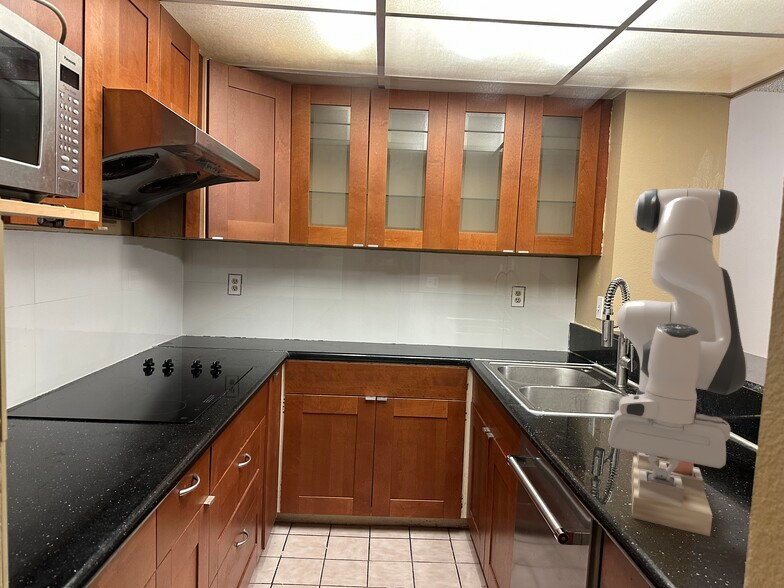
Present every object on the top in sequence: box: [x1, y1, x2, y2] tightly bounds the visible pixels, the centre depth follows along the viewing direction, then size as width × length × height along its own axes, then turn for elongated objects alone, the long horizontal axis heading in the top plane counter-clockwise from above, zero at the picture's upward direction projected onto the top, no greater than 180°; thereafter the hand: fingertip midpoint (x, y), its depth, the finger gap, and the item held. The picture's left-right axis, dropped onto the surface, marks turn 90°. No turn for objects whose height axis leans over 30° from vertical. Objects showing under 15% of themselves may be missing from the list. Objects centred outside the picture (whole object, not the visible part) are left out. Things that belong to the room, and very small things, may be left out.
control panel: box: [631, 452, 713, 537], centre depth 111 cm, size 25×13×7 cm, turn 156°
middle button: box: [669, 461, 695, 475], centre depth 110 cm, size 4×4×3 cm
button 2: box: [648, 474, 674, 486], centre depth 105 cm, size 4×4×3 cm
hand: (660, 478), depth 105 cm, fingers closed, pressing on button 2
